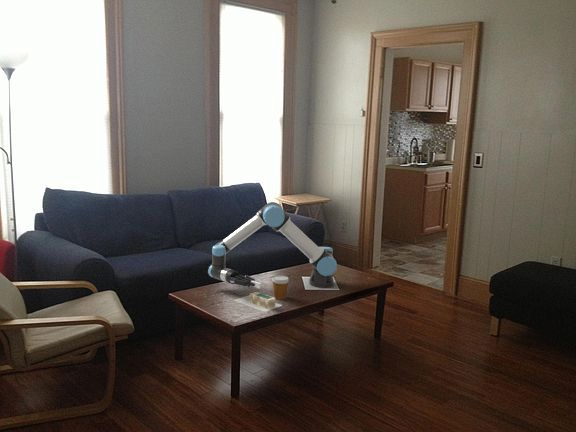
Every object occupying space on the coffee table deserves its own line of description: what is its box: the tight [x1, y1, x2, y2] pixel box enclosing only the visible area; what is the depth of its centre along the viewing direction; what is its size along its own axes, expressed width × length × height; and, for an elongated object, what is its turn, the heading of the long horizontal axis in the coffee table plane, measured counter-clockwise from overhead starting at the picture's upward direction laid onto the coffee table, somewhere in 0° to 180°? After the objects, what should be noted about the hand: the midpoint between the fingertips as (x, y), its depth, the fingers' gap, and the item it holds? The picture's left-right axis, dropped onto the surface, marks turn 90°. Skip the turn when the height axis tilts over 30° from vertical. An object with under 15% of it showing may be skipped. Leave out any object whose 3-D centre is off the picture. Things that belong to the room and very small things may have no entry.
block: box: [249, 291, 276, 310], centre depth 284 cm, size 5×5×14 cm
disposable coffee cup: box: [271, 275, 290, 301], centre depth 295 cm, size 10×10×12 cm
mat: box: [233, 294, 283, 313], centre depth 287 cm, size 24×14×1 cm, turn 49°
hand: (260, 285), depth 284 cm, fingers closed
